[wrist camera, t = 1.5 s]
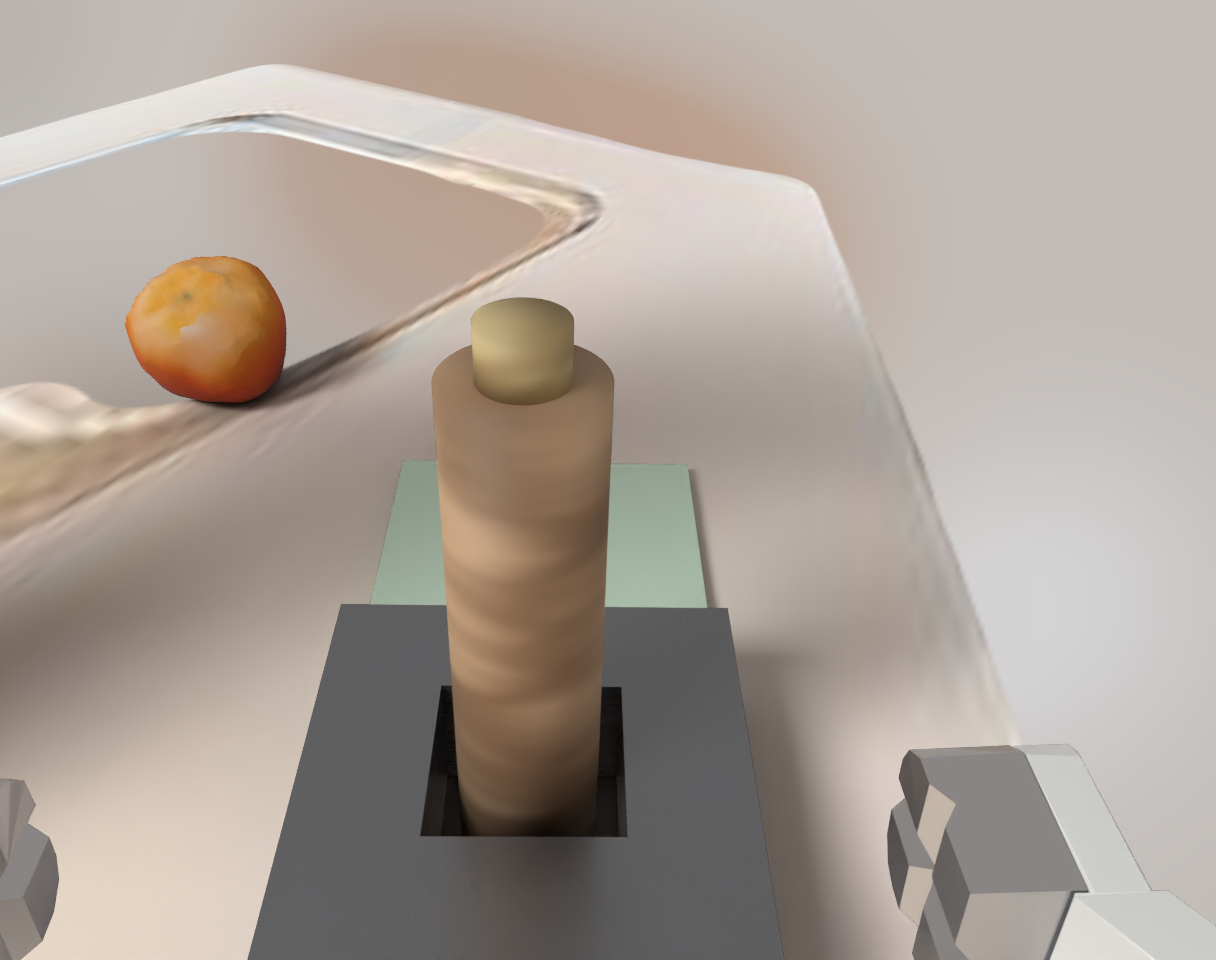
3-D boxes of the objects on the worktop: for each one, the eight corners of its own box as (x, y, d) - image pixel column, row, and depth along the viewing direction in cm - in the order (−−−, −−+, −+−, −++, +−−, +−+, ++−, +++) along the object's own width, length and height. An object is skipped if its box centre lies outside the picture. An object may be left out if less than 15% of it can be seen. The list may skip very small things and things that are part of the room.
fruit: (337, 327, 64) (282, 242, 57) (284, 447, 61) (220, 374, 54) (214, 304, 66) (147, 219, 59) (158, 420, 63) (79, 345, 56)
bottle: (457, 905, 35) (416, 364, 24) (468, 794, 39) (438, 278, 28) (595, 905, 36) (619, 368, 24) (594, 794, 39) (614, 281, 28)
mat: (365, 638, 45) (364, 627, 45) (404, 470, 55) (403, 460, 55) (709, 641, 46) (710, 631, 45) (686, 474, 56) (687, 464, 55)
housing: (270, 1056, 31) (246, 965, 29) (353, 692, 43) (341, 604, 40) (765, 1054, 32) (785, 965, 29) (716, 695, 43) (727, 608, 41)
